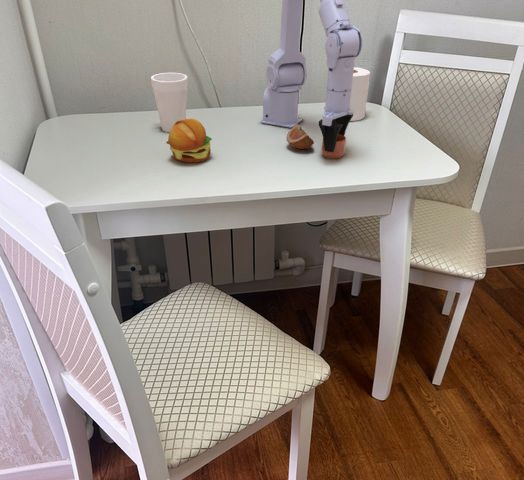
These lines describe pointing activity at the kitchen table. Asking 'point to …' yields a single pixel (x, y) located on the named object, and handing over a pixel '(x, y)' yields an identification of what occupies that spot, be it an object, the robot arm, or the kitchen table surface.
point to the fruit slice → (299, 138)
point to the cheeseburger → (189, 141)
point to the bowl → (336, 148)
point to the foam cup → (170, 98)
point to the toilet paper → (359, 93)
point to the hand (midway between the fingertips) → (333, 147)
